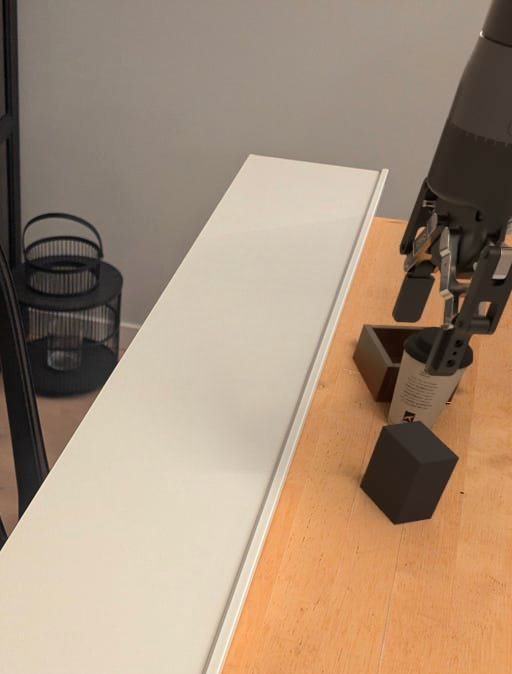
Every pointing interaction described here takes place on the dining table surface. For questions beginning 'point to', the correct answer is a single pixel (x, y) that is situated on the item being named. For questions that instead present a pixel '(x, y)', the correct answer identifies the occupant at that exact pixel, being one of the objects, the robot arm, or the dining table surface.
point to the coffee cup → (422, 382)
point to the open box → (383, 357)
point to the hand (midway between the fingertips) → (420, 345)
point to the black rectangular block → (408, 472)
